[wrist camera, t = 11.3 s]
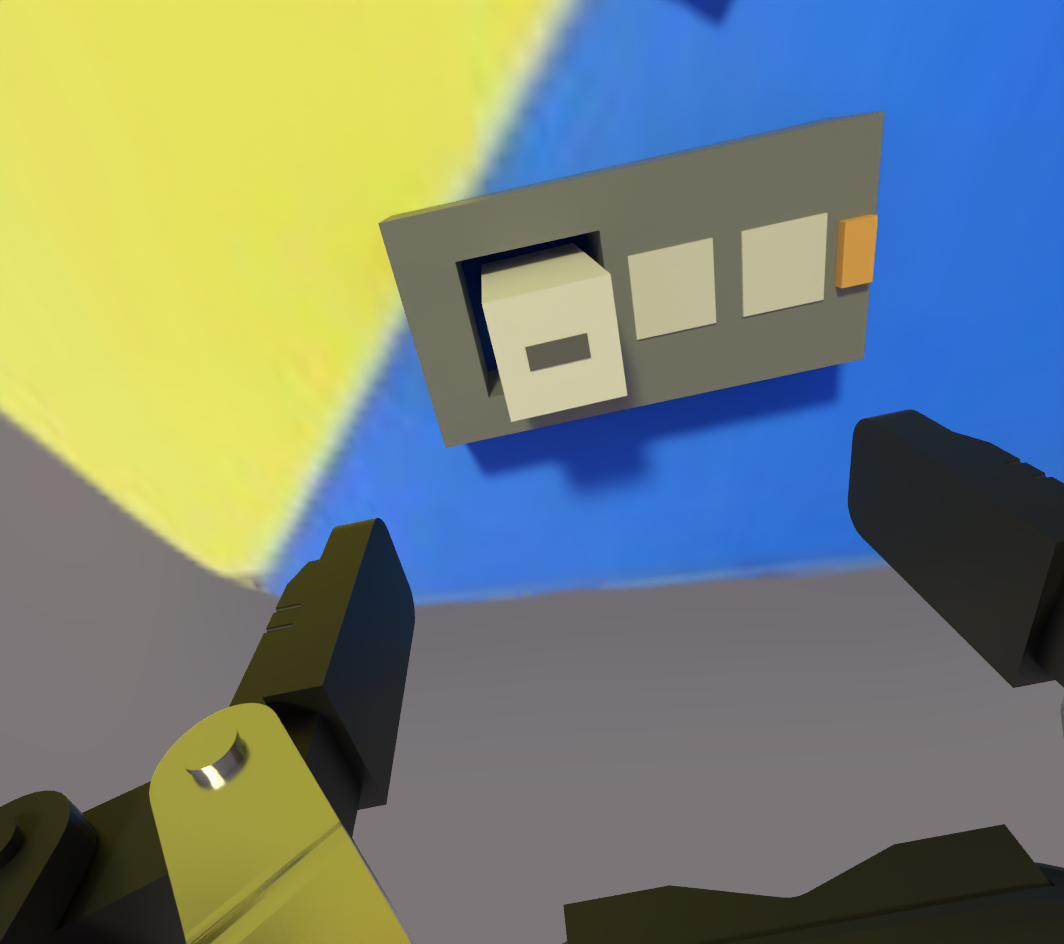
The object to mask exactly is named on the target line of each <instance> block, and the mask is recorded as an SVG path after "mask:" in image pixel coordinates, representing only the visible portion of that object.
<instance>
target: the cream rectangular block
mask: <svg viewBox="0 0 1064 944" xmlns="http://www.w3.org/2000/svg"><path fill="white" fill-rule="evenodd" d="M481 280H482V307H483V311H484V315H485V319H486V323H487V327H488V331H489V335H490V339H491V343H492V347H493V351H494V355H495V359H496V363H497V367H498V371H499V375H500V379H501V383H502V387H503V391H504V395H505V399H506V403H507V407H508V411H509V415H510V419H511V422H513V421H518V420H522V419H526V418H531V417H535V416H540V415H544V414H548V413H553V412H557V411H562V410H566V409H570V408H575V407H579V406H584V405H588V404H592V403H597V402H601V401H606V400H610V399H614V398H619V397H623V396H627V389H626V382H625V375H624V367H623V360H622V353H621V346H620V339H619V332H618V324H617V317H616V310H615V303H614V296H613V288H612V281H611V274H610V273H609V272H607V271H606V270H605V269H604V268H603V267H601V266H600V265H599V264H598V263H597V262H595V261H594V260H593V259H592V258H591V257H589V256H588V255H587V254H586V253H585V252H583V251H582V250H581V249H580V248H578V247H577V246H576V245H575V244H574V243H570V244H566V245H562V246H558V247H553V248H549V249H545V250H541V251H536V252H532V253H528V254H524V255H519V256H515V257H511V258H507V259H502V260H498V261H494V262H490V263H485V264H481Z"/></svg>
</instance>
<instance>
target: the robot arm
mask: <svg viewBox="0 0 1064 944" xmlns="http://www.w3.org/2000/svg"><path fill="white" fill-rule="evenodd" d="M848 508H849V513H850V517H851V520H852V522H853V525H854V527H855V528H856V530H857V532H858V533H859V535H860V536H861V537H862V538H863V539H864V540H865V541H866V542H867V543H868V544H869V545H870V546H871V547H872V548H873V549H874V550H875V551H876V552H877V553H878V554H879V555H880V556H881V557H882V558H883V559H884V560H885V561H886V562H887V563H888V564H889V565H890V566H891V567H892V568H893V569H894V570H895V571H896V572H897V573H898V574H899V575H900V576H901V577H903V578H904V580H906V582H907V583H908V584H909V585H910V586H911V587H913V589H914V590H915V591H917V593H919V594H920V595H921V596H922V598H923V599H924V600H925V601H926V602H928V604H929V605H931V607H932V608H933V609H935V610H936V611H937V612H938V613H939V614H940V615H941V616H942V617H943V618H944V619H945V620H946V621H947V622H948V623H949V624H950V625H951V626H952V627H953V628H954V629H955V630H956V631H957V632H958V633H959V634H960V635H961V636H962V637H963V638H964V639H965V640H966V641H967V642H968V643H969V644H970V645H971V646H972V647H973V648H974V649H975V650H976V651H977V652H978V653H979V654H980V655H981V656H982V657H983V658H984V659H985V660H986V661H987V662H988V663H989V664H990V665H991V666H992V667H993V668H994V669H995V670H996V671H997V672H998V673H999V674H1000V675H1001V676H1002V677H1003V678H1004V679H1005V680H1006V681H1007V682H1008V683H1009V684H1010V685H1011V686H1012V687H1013V688H1015V687H1021V686H1026V685H1031V684H1036V683H1041V682H1047V681H1052V680H1056V681H1057V682H1058V683H1059V684H1061V685H1062V686H1063V687H1064V483H1062V482H1060V481H1058V480H1057V479H1055V478H1053V477H1048V478H1047V477H1046V476H1045V473H1044V472H1042V471H1040V470H1039V469H1037V468H1035V467H1033V466H1031V465H1030V464H1028V463H1026V462H1025V463H1020V459H1019V458H1017V457H1015V456H1013V455H1011V454H1010V453H1008V452H1006V451H1004V450H1002V449H1001V448H999V447H997V446H995V445H993V444H992V443H990V442H986V441H983V440H979V439H976V438H972V437H969V436H966V435H962V434H959V433H955V432H952V431H950V430H949V429H947V428H945V427H943V426H942V425H940V424H938V423H936V422H935V421H933V420H931V419H930V418H928V417H926V416H924V415H923V414H921V413H919V412H917V411H915V410H904V411H899V412H894V413H889V414H885V415H880V416H875V417H870V418H865V419H862V420H860V421H859V422H858V423H857V424H856V426H855V429H854V432H853V441H852V454H851V466H850V479H849V491H848ZM276 611H277V612H276V613H273V615H272V617H271V620H270V622H269V624H268V626H267V633H264V634H263V636H262V639H261V641H260V643H259V645H258V647H257V649H256V651H255V653H254V655H253V658H252V660H251V662H250V664H249V666H248V668H247V670H246V672H245V674H244V676H243V679H242V681H241V683H240V685H239V687H238V689H237V691H236V693H235V695H234V698H233V700H232V702H231V704H230V706H229V707H228V708H226V709H223V710H221V711H218V712H216V713H214V714H212V715H210V716H209V717H207V718H205V719H204V720H202V721H201V722H199V723H198V724H196V725H195V726H194V727H192V728H191V729H190V730H189V731H187V732H186V733H185V734H184V735H183V736H182V737H181V738H180V739H179V740H178V741H177V742H176V743H175V744H174V745H173V746H172V747H171V748H170V749H169V751H168V752H167V753H166V754H165V756H164V757H163V759H162V760H161V762H160V763H159V765H158V767H157V769H156V771H155V773H154V774H153V777H152V780H151V782H148V783H146V784H144V785H142V786H139V787H137V788H135V789H133V790H131V791H129V792H126V793H124V794H122V795H120V796H118V797H116V798H113V799H112V800H109V801H107V802H105V803H103V804H101V805H98V806H96V807H94V808H92V809H90V810H88V811H85V812H83V813H81V812H80V811H79V809H77V807H76V806H75V805H74V804H72V802H71V801H70V800H69V799H68V798H67V797H66V796H64V795H63V794H62V793H59V792H56V791H41V792H35V793H32V794H28V795H26V796H23V797H20V798H18V799H15V800H13V801H11V802H9V803H7V804H6V805H3V806H2V807H0V944H415V942H414V941H413V939H412V938H411V936H410V934H409V933H408V931H407V929H406V927H405V926H404V924H403V922H402V921H401V919H400V917H399V916H398V914H397V912H396V911H395V909H394V907H393V906H392V904H391V902H390V901H389V899H388V897H387V896H386V894H385V892H384V891H383V889H382V887H381V886H380V884H379V882H378V880H377V879H376V877H375V875H374V874H373V872H372V870H371V869H370V867H369V865H368V864H367V862H366V860H365V859H364V857H363V855H362V854H361V852H360V850H359V849H358V847H357V845H356V844H355V842H354V840H353V839H352V835H353V830H354V824H355V819H356V815H357V810H360V809H365V808H370V807H375V806H380V805H386V803H387V796H388V790H389V784H390V777H391V770H392V764H393V757H394V751H395V745H396V739H397V733H398V726H399V720H400V713H401V707H402V700H403V694H404V688H405V682H406V675H407V668H408V662H409V656H410V649H411V643H412V637H413V630H414V623H415V611H414V602H413V597H412V593H411V589H410V586H409V584H408V581H407V579H406V576H405V573H404V571H403V568H402V566H401V563H400V560H399V558H398V555H397V552H396V550H395V547H394V545H393V542H392V539H391V537H390V534H389V532H388V529H387V527H386V525H385V523H384V522H383V521H382V520H381V519H380V518H375V519H370V520H366V521H361V522H356V523H351V524H346V525H341V526H337V527H335V528H334V529H333V530H332V532H331V535H330V537H329V539H328V542H327V544H326V546H325V549H324V551H323V554H322V556H321V558H320V560H316V561H311V562H308V563H307V564H306V565H305V566H304V567H303V568H302V570H301V571H300V572H299V573H298V574H297V575H296V576H295V577H294V578H293V579H292V580H291V581H290V582H289V583H288V584H287V586H286V588H285V590H284V592H283V594H282V596H281V598H280V601H279V603H278V605H277V607H276ZM1061 717H1062V718H1061V719H1062V728H1063V736H1064V698H1063V701H1062V704H1061ZM564 914H565V923H566V934H567V942H565V943H563V944H1064V868H1062V867H1057V866H1052V865H1047V864H1042V863H1035V862H1033V860H1032V859H1031V858H1030V856H1029V855H1028V854H1027V853H1026V851H1025V850H1024V849H1023V848H1022V846H1021V845H1020V844H1019V843H1018V841H1017V840H1016V838H1015V837H1014V836H1013V835H1012V834H1011V832H1010V831H1009V830H1008V828H1007V827H1006V826H1005V825H1004V824H1003V825H998V826H993V827H987V828H981V829H976V830H970V831H965V832H960V833H954V834H949V835H944V836H938V837H932V838H927V839H922V840H916V841H911V842H905V843H900V844H895V845H892V846H890V847H889V848H887V849H885V850H883V851H882V852H880V853H878V854H876V855H874V856H872V857H871V858H869V859H868V860H865V861H863V862H862V863H860V864H858V865H856V866H854V867H853V868H851V869H849V870H847V871H845V872H844V873H842V874H840V875H838V876H836V877H835V878H833V879H831V880H829V881H827V882H826V883H824V884H822V885H820V886H819V887H816V888H815V889H813V890H811V891H809V892H808V893H805V894H803V895H801V896H797V897H792V898H781V897H771V896H762V895H753V894H743V893H734V892H725V891H716V890H707V889H698V888H688V887H679V886H664V887H659V888H654V889H649V890H643V891H637V892H632V893H627V894H621V895H615V896H610V897H604V898H599V899H593V900H588V901H582V902H577V903H572V904H566V905H564Z"/></svg>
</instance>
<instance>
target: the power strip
mask: <svg viewBox="0 0 1064 944" xmlns="http://www.w3.org/2000/svg"><path fill="white" fill-rule="evenodd" d="M884 113H885V111H879V112H872V113H865V114H857V115H850V116H843V117H835V118H829V119H824V120H820V121H815V122H811V123H806V124H802V125H797V126H793V127H788V128H784V129H779V130H775V131H770V132H766V133H761V134H757V135H753V136H748V137H744V138H739V139H735V140H730V141H726V142H721V143H717V144H712V145H708V146H703V147H699V148H694V149H690V150H685V151H681V152H676V153H672V154H667V155H663V156H658V157H654V158H649V159H645V160H640V161H636V162H631V163H627V164H622V165H618V166H613V167H609V168H604V169H600V170H595V171H591V172H586V173H582V174H577V175H573V176H568V177H564V178H559V179H555V180H550V181H546V182H541V183H537V184H532V185H528V186H523V187H519V188H514V189H510V190H506V191H501V192H497V193H492V194H488V195H483V196H479V197H474V198H470V199H465V200H461V201H456V202H452V203H447V204H443V205H438V206H434V207H429V208H425V209H420V210H416V211H411V212H407V213H402V214H398V215H393V216H391V217H389V218H387V219H385V220H384V221H382V222H380V223H378V224H379V227H380V230H381V234H382V237H383V240H384V244H385V247H386V250H387V254H388V257H389V260H390V264H391V267H392V270H393V274H394V277H395V280H396V284H397V287H398V290H399V294H400V297H401V300H402V304H403V307H404V310H405V314H406V317H407V320H408V324H409V327H410V330H411V334H412V337H413V340H414V344H415V347H416V350H417V354H418V357H419V360H420V364H421V367H422V370H423V374H424V377H425V381H426V384H427V387H428V391H429V394H430V397H431V401H432V404H433V407H434V411H435V414H436V417H437V421H438V424H439V427H440V431H441V434H442V437H443V441H444V444H445V447H446V448H447V447H452V446H457V445H461V444H466V443H471V442H475V441H480V440H485V439H489V438H494V437H499V436H504V435H508V434H513V433H518V432H522V431H527V430H532V429H536V428H541V427H546V426H550V425H555V424H560V423H565V422H569V421H574V420H579V419H583V418H588V417H593V416H597V415H602V414H607V413H611V412H616V411H621V410H626V409H630V408H635V407H640V406H644V405H649V404H654V403H658V402H663V401H668V400H672V399H677V398H682V397H687V396H691V395H696V394H701V393H705V392H710V391H715V390H719V389H724V388H729V387H733V386H738V385H743V384H748V383H752V382H757V381H762V380H766V379H771V378H776V377H780V376H785V375H790V374H795V373H799V372H804V371H809V370H813V369H818V368H823V367H827V366H832V365H837V364H841V363H846V362H851V361H856V360H860V359H864V350H865V338H866V326H867V315H868V303H869V291H870V282H872V280H873V268H874V257H875V245H876V234H877V222H878V215H876V208H877V196H878V184H879V172H880V161H881V149H882V137H883V125H884ZM585 233H586V237H587V244H588V252H589V257H591V258H592V259H593V260H594V261H595V262H597V263H598V264H599V265H600V266H601V267H603V268H604V269H605V270H606V271H607V272H609V273H610V274H611V281H612V288H613V296H614V303H615V310H616V317H617V324H618V332H619V339H620V346H621V353H622V360H623V367H624V375H625V382H626V389H627V396H623V397H619V398H614V399H610V400H606V401H601V402H597V403H592V404H588V405H584V406H579V407H575V408H570V409H566V410H562V411H557V412H553V413H548V414H544V415H540V416H535V417H531V418H526V419H522V420H518V421H513V422H511V419H510V415H509V411H508V407H507V403H506V399H505V395H504V391H503V387H502V383H501V379H500V375H499V371H498V369H495V370H490V371H488V370H487V366H486V362H485V358H484V354H483V349H482V345H481V341H480V337H479V333H478V329H477V325H476V321H475V316H474V312H473V308H472V304H471V300H470V296H469V292H468V288H467V284H466V279H465V275H464V271H463V267H462V263H461V261H462V260H467V259H471V258H476V257H480V256H485V255H489V254H494V253H499V252H503V251H508V250H512V249H517V248H521V247H526V246H530V245H535V244H539V243H544V242H548V241H553V240H558V239H562V238H567V237H571V236H576V235H580V234H585Z"/></svg>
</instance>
